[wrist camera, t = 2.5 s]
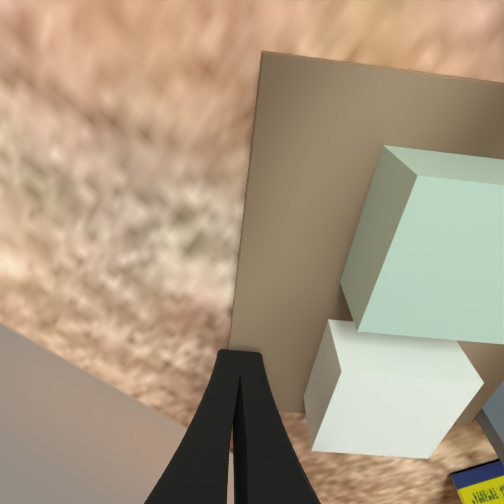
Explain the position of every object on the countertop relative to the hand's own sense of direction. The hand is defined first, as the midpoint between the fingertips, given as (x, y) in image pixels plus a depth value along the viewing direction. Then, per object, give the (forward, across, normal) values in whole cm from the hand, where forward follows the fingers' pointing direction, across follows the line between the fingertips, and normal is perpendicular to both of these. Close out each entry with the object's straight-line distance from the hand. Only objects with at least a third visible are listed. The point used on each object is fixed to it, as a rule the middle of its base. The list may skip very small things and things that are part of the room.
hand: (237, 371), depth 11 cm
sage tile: (+1, -5, -6) cm, 7 cm away
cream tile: (+1, -5, 0) cm, 5 cm away
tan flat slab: (+2, -5, -3) cm, 6 cm away
